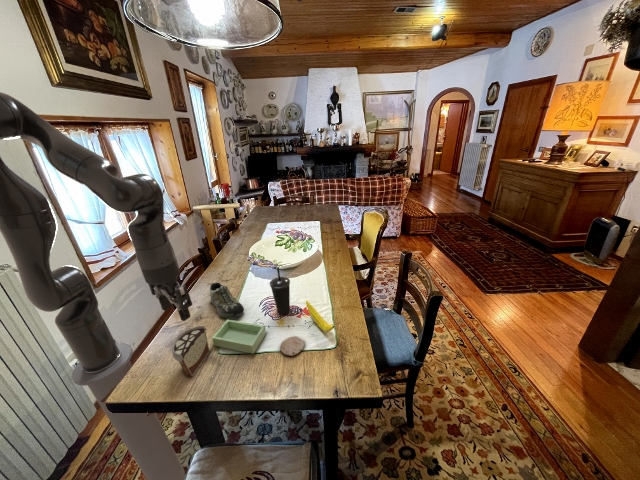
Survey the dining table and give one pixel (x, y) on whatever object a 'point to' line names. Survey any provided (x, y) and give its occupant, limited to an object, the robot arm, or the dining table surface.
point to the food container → (191, 349)
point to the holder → (239, 336)
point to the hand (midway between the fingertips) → (176, 313)
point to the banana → (318, 318)
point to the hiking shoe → (225, 302)
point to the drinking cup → (281, 293)
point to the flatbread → (292, 345)
